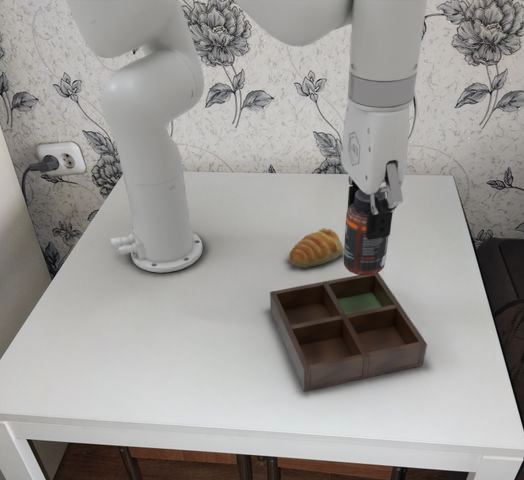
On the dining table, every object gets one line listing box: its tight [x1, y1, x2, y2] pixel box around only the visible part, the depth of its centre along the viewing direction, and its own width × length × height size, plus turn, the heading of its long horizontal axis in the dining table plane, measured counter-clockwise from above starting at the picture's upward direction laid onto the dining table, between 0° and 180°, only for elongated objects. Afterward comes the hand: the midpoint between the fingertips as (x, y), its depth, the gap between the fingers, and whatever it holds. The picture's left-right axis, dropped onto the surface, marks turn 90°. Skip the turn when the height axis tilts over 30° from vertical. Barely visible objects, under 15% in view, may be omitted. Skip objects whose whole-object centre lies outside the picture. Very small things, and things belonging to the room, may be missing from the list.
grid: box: [269, 272, 428, 392], centre depth 86 cm, size 17×17×4 cm
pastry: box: [289, 227, 344, 269], centre depth 101 cm, size 9×7×4 cm
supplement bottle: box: [343, 189, 389, 276], centre depth 81 cm, size 6×6×11 cm
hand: (367, 222), depth 80 cm, fingers closed on supplement bottle, 6 cm apart
